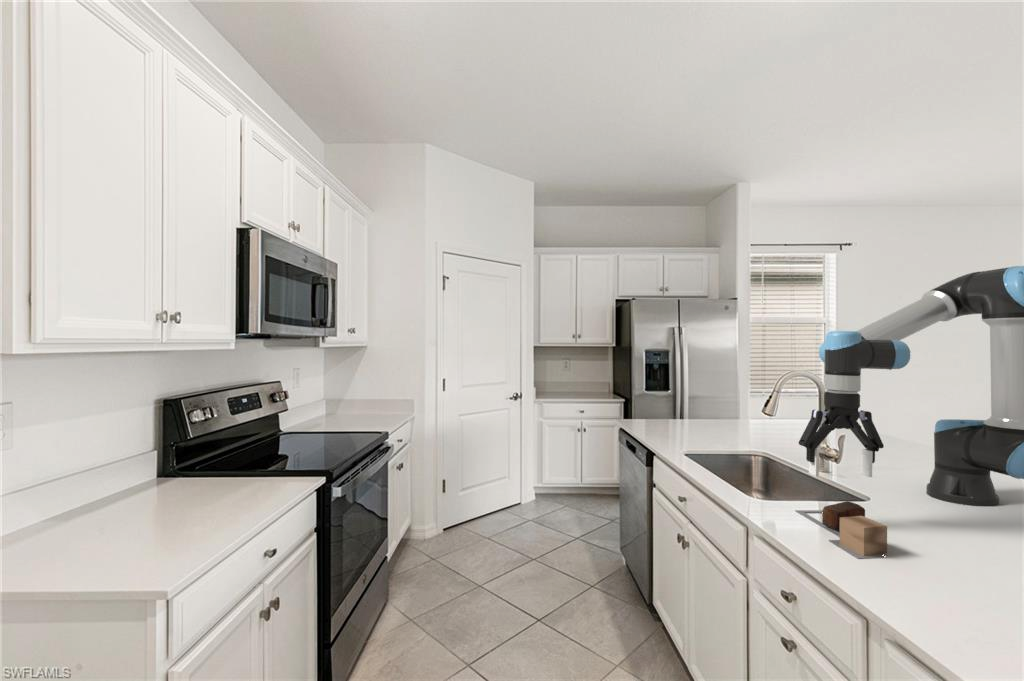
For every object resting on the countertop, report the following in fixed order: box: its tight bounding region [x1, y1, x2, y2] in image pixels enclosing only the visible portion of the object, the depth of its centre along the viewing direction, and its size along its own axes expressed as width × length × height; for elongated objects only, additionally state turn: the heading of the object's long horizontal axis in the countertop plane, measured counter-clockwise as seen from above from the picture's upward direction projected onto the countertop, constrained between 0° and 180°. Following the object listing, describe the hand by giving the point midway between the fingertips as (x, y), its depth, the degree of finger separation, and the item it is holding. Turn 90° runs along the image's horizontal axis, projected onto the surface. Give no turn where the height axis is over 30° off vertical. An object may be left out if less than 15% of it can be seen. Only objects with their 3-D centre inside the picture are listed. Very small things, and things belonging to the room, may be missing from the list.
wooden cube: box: [839, 516, 888, 556], centre depth 105 cm, size 6×6×6 cm
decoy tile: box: [828, 539, 886, 560], centre depth 105 cm, size 9×9×1 cm
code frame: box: [794, 509, 840, 538], centre depth 120 cm, size 13×17×1 cm
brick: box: [821, 501, 866, 531], centre depth 118 cm, size 11×4×5 cm, turn 113°
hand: (840, 475), depth 120 cm, fingers open, 13 cm apart
